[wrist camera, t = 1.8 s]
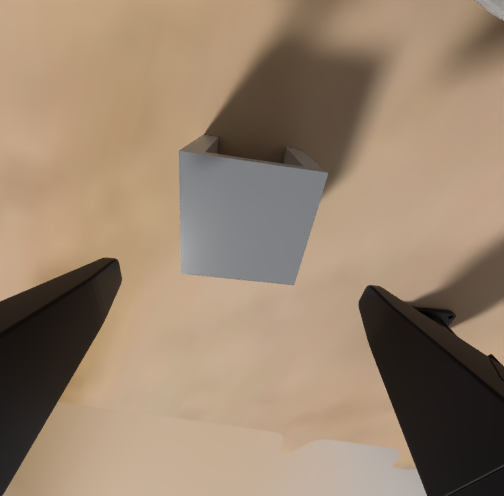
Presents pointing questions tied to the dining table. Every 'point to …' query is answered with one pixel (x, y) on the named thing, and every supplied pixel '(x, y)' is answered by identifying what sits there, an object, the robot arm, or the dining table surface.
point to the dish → (493, 7)
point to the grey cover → (246, 212)
